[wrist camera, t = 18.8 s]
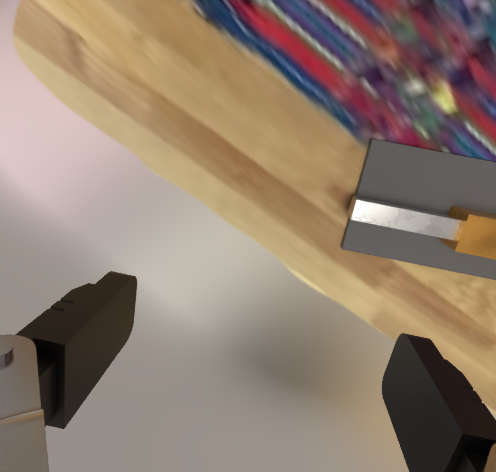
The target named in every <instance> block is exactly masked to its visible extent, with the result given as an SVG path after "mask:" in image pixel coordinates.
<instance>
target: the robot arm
mask: <svg viewBox="0 0 496 472" xmlns="http://www.w3.org/2000/svg"><path fill="white" fill-rule="evenodd" d="M136 290H137V279H136V277H135V276H131V275H127V274H122V273H117V272H112V271H111V272H109V273H107V274H106V275H105V276H104V277H103V278H102V279H101V280H99V281H98V282H97V283H96V284H90V283H88V284H86V285H83V286H81V287H78V288H75V289H73V290H71V291H70V292H69V293H68V294H66V295H65V296H64V297H62V298H61V300H60V301H57V302H56V303H55V304H54V305H52V306H51V308H50V309H47V310H46V311H45V312H43V313H42V314H41V315H40V316H38V317H37V318H36V319H35V320H33V321H32V322H31V323H30V324H28V325H27V326H26V327H24V328H23V329H22V330H21V331H19V332H18V333H17V334H16V335H0V472H49V465H48V455H47V444H46V433H45V427H46V425H48V426H53V427H58V428H62V429H64V428H65V427H66V426H67V424H68V423H69V421H70V420H71V418H72V417H73V416H74V414H75V413H76V412H77V410H78V409H79V407H80V406H81V405H82V403H83V402H84V400H85V399H86V398H87V396H88V395H89V393H90V392H91V391H92V389H93V388H94V387H95V385H96V384H97V382H98V381H99V380H100V378H101V377H102V375H103V374H104V373H105V371H106V370H107V368H108V367H109V366H110V364H111V363H112V361H113V360H114V359H115V357H116V356H117V354H118V353H119V352H120V350H121V349H122V348H123V346H124V345H125V343H126V342H127V340H128V338H129V336H130V334H131V331H132V327H133V323H134V313H135V302H136ZM382 395H383V399H384V402H385V405H386V407H387V410H388V413H389V416H390V419H391V422H392V424H393V427H394V430H395V433H396V436H397V439H398V441H399V444H400V447H401V450H402V452H403V455H404V458H405V461H406V464H407V466H408V469H409V472H496V420H495V418H494V417H493V415H492V414H491V413H490V411H489V410H488V408H487V407H486V406H485V404H483V403H482V400H481V399H480V397H479V396H478V394H477V393H476V391H473V387H472V386H471V384H470V383H469V382H468V380H467V379H466V377H465V376H464V375H463V373H462V372H460V371H459V370H458V369H457V368H456V367H455V366H453V365H452V364H451V363H450V362H449V361H448V360H445V359H444V358H443V357H442V355H441V354H440V352H439V351H438V349H437V348H436V346H435V345H434V343H433V342H432V341H431V340H430V339H428V338H423V337H419V336H414V335H409V334H404V333H402V334H401V335H400V336H399V337H398V339H397V341H396V344H395V346H394V349H393V352H392V354H391V357H390V360H389V363H388V365H387V368H386V371H385V373H384V376H383V381H382Z"/></svg>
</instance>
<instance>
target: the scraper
mask: <svg viewBox="0 0 496 472" xmlns="http://www.w3.org/2000/svg"><path fill="white" fill-rule="evenodd" d="M347 215H348V216H349V218H350V219H351V220H355V221H360V222H365V223H370V224H375V225H380V226H385V227H390V228H395V229H400V230H405V231H410V232H415V233H420V234H425V235H430V236H435V237H439V240H440V241H442V242H443V243H444V244H446V245H447V246H448V247H450V248H451V249H452V250H454V251H456V252H461V253H466V254H470V255H475V256H480V257H485V258H490V259H495V260H496V214H492V213H487V212H482V211H476V210H471V209H466V208H461V207H456V206H451V208H450V211H449V213H448V215H447V214H442V213H437V212H432V211H427V210H422V209H417V208H412V207H407V206H402V205H397V204H392V203H387V202H382V201H377V200H372V199H367V198H362V197H357V196H353V197H352V200H351V204H350V207H349V211H348V214H347Z"/></svg>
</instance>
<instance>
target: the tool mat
mask: <svg viewBox="0 0 496 472" xmlns="http://www.w3.org/2000/svg"><path fill="white" fill-rule="evenodd" d="M355 196H357V197H362V198H367V199H372V200H377V201H382V202H387V203H392V204H397V205H402V206H407V207H412V208H417V209H422V210H427V211H432V212H437V213H442V214H447V215H448V213H449V211H450V208H451V206H456V207H461V208H466V209H471V210H476V211H482V212H487V213H492V214H496V162H491V161H486V160H481V159H476V158H470V157H465V156H460V155H454V154H449V153H444V152H438V151H433V150H428V149H423V148H417V147H412V146H407V145H401V144H396V143H391V142H385V141H380V140H375V139H371V140H370V144H369V147H368V151H367V155H366V158H365V162H364V165H363V169H362V172H361V176H360V180H359V183H358V187H357V190H356V194H355ZM341 248H342V249H344V250H349V251H354V252H359V253H364V254H369V255H374V256H379V257H384V258H389V259H394V260H399V261H404V262H409V263H414V264H419V265H424V266H429V267H434V268H439V269H444V270H449V271H453V272H458V273H463V274H468V275H473V276H478V277H483V278H488V279H493V280H496V260H495V259H490V258H485V257H480V256H475V255H470V254H466V253H461V252H456V251H454V250H452V249H451V248H450V247H448V246H447V245H446V244H444V243H443V242H442V241H440V240H439V237H435V236H430V235H425V234H420V233H415V232H410V231H405V230H400V229H395V228H390V227H385V226H380V225H375V224H370V223H365V222H360V221H355V220H351V219H350V218H349V219H348V223H347V226H346V230H345V233H344V237H343V240H342V244H341Z"/></svg>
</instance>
